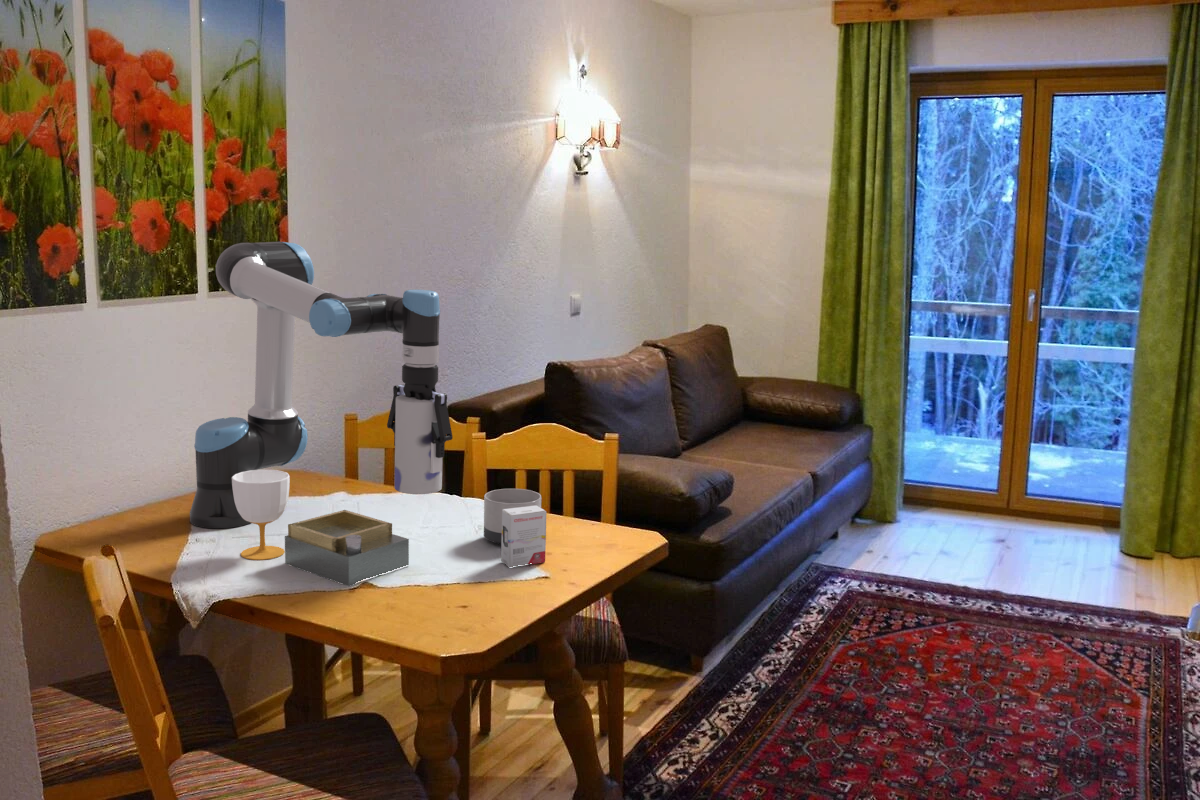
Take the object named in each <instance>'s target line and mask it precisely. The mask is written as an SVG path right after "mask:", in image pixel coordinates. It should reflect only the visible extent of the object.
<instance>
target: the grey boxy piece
mask: <svg viewBox="0 0 1200 800" xmlns="http://www.w3.org/2000/svg"><path fill="white" fill-rule="evenodd" d="M287 531H288V532H287V535H284V551H285V552H284V560H285V561H284V562H285V563H284V564H285V565H287V566H290V567H293V568H296V569H299V570H302V571H304V570H305V571H304V572H307V571H308V573H310V572H311V573H310V574H312V575H316V576H318V575H319V576H318V577H321V576H322V578H324V577H325V579H327V578H328V580H330V579H331V580H330V581H332V582H333V581H334V582H335V581H336V583H338V582H339V584H341V585H344V586H348V587H351V586H354V585H356V584H355V583H356V582H358V581H361V580H363V579H366V578H370V577H373V576H376V575H379V574H382V573H386V572H388V571H392V570H394V569H397V568H400V567H403V566H406V565H409V564H410V562H409V560H410V559H409V558H410V555H409V553H410V547H409V546H410V545H409V543H410V542H409V541H410V539H409V538H407V537H404V536H401V535H397V534H393V523H392V522H388V521H386V520H380V519H378V518H374V517H370V516H367V515H364V514H360V513H358V512H353V511H350V510H347V509H343V510H338V511H336V512H331V513H328V514H327V513H326V514H324V515H320V516H315V517H312V518H307V519H304V520H301V521H296V522H293V523H290V524H289V523H288V524H287ZM353 584H354V585H353Z"/></svg>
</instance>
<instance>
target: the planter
mask: <svg viewBox="0 0 1200 800" xmlns="http://www.w3.org/2000/svg"><path fill="white" fill-rule="evenodd" d="M483 497H484V498H483V499H484V501H483V502H484V503H483V537H484V538H485V539H486V540H487V541H490V542H492V543H493V544H494V543H495V544H497V545H499V544H500V546H501V540H502V509H510V508H518V507H527V506H535V505H537V506H538V507H540V508H542V495H541V493H539V492H536V491H533V490H531V489H524V488H501V489H499V488H498V489H494V490H491V491H488V492H485V494H484V496H483Z"/></svg>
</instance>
